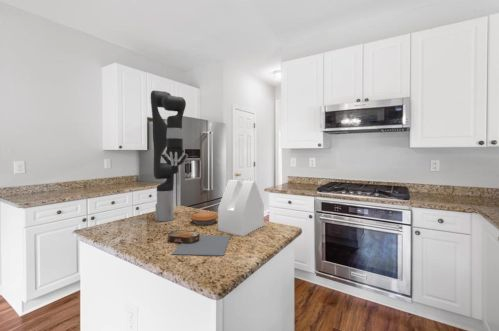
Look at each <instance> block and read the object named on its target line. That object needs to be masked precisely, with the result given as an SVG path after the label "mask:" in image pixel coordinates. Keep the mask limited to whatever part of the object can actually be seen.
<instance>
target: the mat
mask: <svg viewBox="0 0 499 331" xmlns="http://www.w3.org/2000/svg"><path fill="white" fill-rule="evenodd" d="M199 236H200V238H199V239H198V240H197V241H195V242H191V243H181V242H180V244H179V245H178V246H177V247H176V249H175V250H173V252H171V255H172V256H193V257H194V256H195V257H196V256H197V257H198V256H200V257H201V256H204V257H205V256H206V257H207V256H208V257H224V256H225V253H226V250H227V248H228V245H229V243H230V240H231V236H232V235H222V234H221V235H220V234H219V235H214V234H212V235H210V234H199Z"/></svg>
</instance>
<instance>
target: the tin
mask: <svg viewBox="0 0 499 331" xmlns="http://www.w3.org/2000/svg"><path fill="white" fill-rule="evenodd" d="M199 235H201V234H200V232H199V231H196V230H186V229H185V230H183V229H181V230H178V229H177V230H174V231H170V232H168V234H167V240H168V241H169V242H173V243H180V244H181V243H191V242H195V241H197V240H198V239H199V238H200V236H199Z"/></svg>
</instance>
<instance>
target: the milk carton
mask: <svg viewBox="0 0 499 331" xmlns="http://www.w3.org/2000/svg"><path fill="white" fill-rule="evenodd" d="M264 210H265V205H264V202H263V199H262V196H261V194H260V191H259V188H258V185H257V183H256V181H252V180H244V181H243V183H242V182H241V180H239V179H228V181H227V184H226V186H225V189H224V192H223V195H222V197H221V200H220V203H219V205H218V208H217V213H218V214H217V215H218V217H217V221H218V222H217V231H219V232H223V233H227V234H231V235H236V236H239V237H245V236H247V235H248V233H249V234H250V232H251V233H253V232H255V231H257V230H259V229H261V228H263V227H264V226H265V224H264V223H265V222H264V219H265V215H264V214H265V212H264ZM262 226H263V227H262ZM260 227H261V228H260ZM258 228H259V229H258ZM256 229H257V230H256ZM254 230H255V231H254ZM252 231H253V232H252Z"/></svg>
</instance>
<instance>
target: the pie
mask: <svg viewBox="0 0 499 331" xmlns="http://www.w3.org/2000/svg"><path fill="white" fill-rule="evenodd" d="M189 218H190V219H191V220H192V222H193V223H194V224H195V225H197V226H208V225H212V224H214V223H215V222H216V220H217V219H218V214H217V213H215V212H212V211H200V212H195V213H193V214H192V215H190V216H189Z"/></svg>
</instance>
